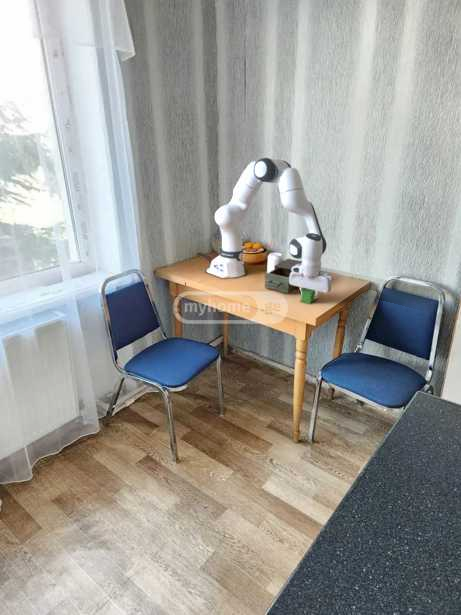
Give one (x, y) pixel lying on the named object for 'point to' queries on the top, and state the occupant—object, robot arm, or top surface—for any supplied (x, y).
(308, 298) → the green block
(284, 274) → the drawer
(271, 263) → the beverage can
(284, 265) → the cabinet
